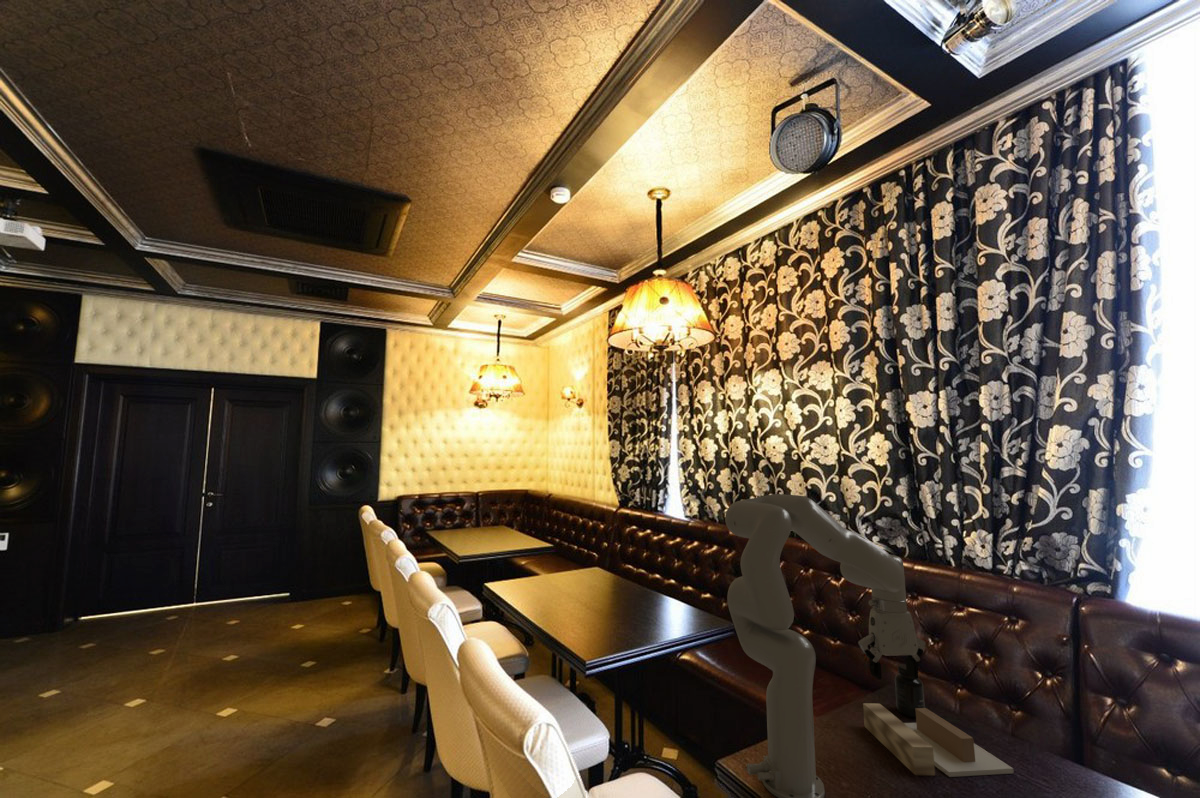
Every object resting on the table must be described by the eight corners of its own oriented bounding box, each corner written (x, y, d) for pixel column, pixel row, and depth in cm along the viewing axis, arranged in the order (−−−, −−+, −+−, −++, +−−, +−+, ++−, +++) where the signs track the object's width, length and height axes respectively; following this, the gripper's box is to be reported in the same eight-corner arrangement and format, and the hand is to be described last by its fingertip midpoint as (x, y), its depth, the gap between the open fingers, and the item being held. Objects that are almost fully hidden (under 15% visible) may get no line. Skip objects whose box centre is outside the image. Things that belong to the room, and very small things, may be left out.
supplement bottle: (929, 721, 128) (925, 674, 130) (900, 716, 130) (897, 670, 132) (921, 709, 135) (917, 664, 137) (893, 704, 137) (890, 661, 139)
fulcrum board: (949, 776, 105) (946, 747, 106) (885, 728, 124) (884, 703, 125) (1013, 773, 106) (1010, 744, 107) (941, 725, 126) (939, 701, 127)
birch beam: (935, 776, 105) (932, 747, 106) (915, 776, 105) (913, 747, 106) (881, 727, 125) (879, 703, 126) (864, 727, 125) (863, 703, 126)
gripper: (867, 609, 115) (871, 684, 113) (932, 608, 117) (938, 682, 114) (848, 601, 123) (852, 671, 120) (909, 600, 124) (915, 669, 122)
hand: (894, 676), depth 117 cm, fingers open, 9 cm apart
